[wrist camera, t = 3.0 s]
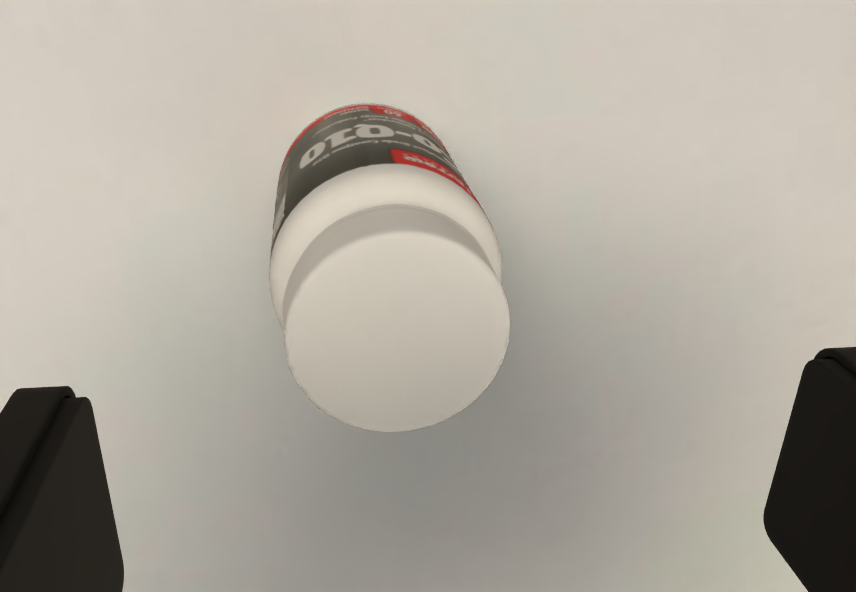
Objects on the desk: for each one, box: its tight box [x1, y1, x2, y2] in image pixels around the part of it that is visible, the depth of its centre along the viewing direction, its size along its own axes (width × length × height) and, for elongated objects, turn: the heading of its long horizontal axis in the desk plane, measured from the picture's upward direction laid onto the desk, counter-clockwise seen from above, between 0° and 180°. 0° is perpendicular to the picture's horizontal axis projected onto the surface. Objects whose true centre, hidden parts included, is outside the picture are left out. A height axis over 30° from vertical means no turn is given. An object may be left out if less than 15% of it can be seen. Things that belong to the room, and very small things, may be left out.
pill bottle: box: [269, 104, 510, 432], centre depth 17 cm, size 5×5×8 cm
